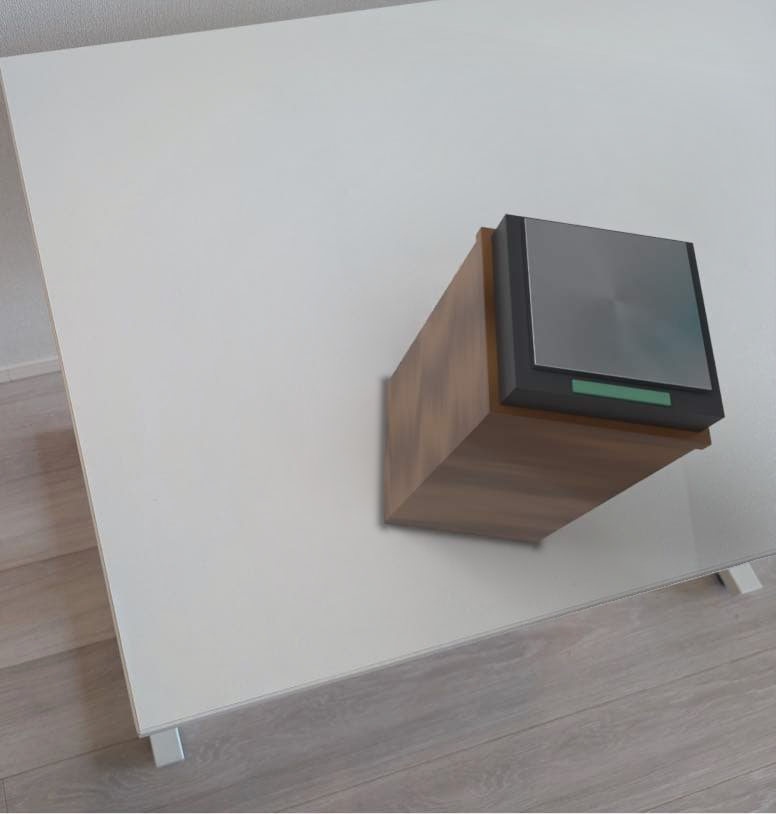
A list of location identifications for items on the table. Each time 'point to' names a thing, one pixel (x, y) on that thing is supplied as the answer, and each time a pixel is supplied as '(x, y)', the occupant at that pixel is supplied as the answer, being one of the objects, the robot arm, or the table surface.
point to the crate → (498, 432)
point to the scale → (602, 325)
